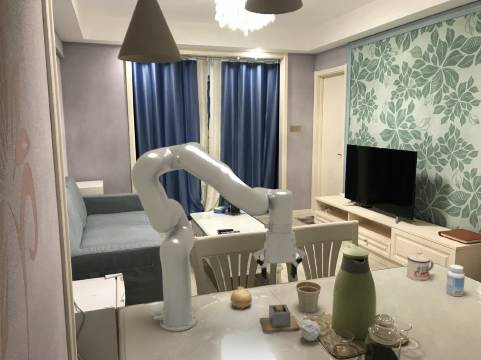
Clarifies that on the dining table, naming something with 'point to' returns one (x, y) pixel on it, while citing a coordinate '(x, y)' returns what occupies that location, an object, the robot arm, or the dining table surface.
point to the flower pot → (308, 295)
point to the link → (279, 316)
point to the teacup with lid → (419, 266)
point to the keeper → (268, 328)
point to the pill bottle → (455, 280)
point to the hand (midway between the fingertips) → (278, 277)
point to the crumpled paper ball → (309, 330)
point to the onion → (241, 298)
